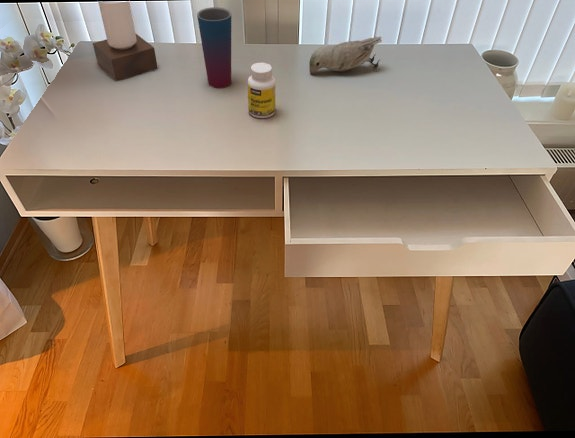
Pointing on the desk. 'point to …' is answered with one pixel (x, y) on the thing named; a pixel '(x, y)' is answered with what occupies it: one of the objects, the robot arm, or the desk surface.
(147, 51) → the walnut block
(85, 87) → the desk surface
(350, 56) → the decorative bird
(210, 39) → the cup
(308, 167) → the desk surface
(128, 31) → the beverage can
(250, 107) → the supplement bottle
